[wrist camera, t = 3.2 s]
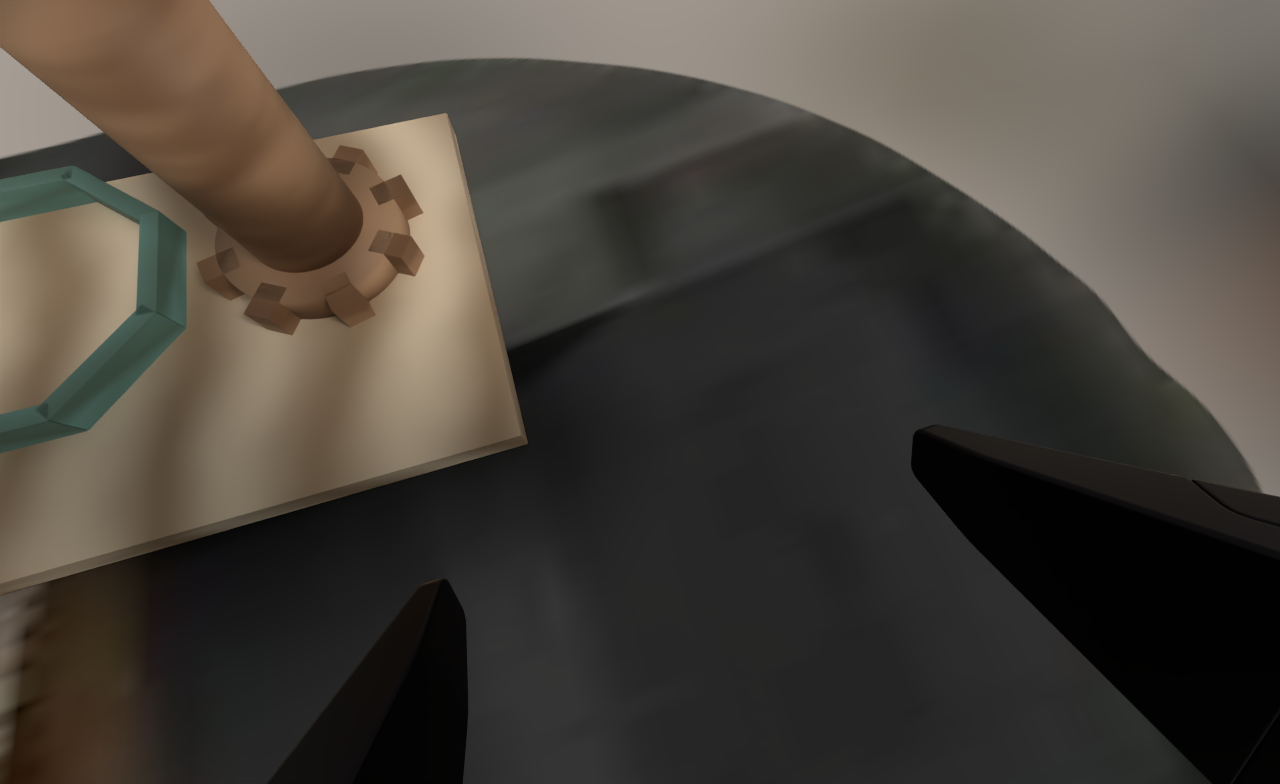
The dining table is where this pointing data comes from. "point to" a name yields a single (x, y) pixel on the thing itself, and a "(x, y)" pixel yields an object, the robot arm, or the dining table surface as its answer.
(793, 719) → the dining table surface
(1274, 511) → the robot arm
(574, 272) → the dining table surface
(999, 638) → the dining table surface
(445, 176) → the gear board
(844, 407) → the dining table surface
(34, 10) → the gear
